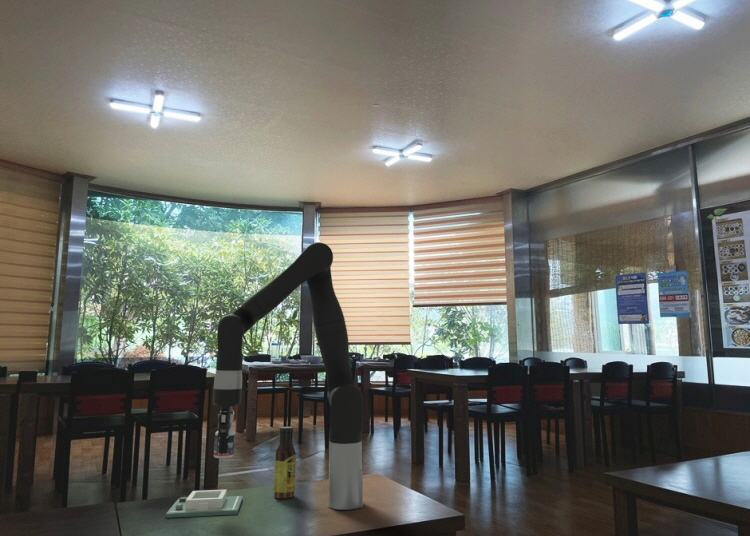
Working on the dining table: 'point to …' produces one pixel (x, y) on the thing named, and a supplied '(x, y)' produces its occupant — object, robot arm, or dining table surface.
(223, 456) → the pill bottle
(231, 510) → the board
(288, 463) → the sauce bottle
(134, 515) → the dining table surface
